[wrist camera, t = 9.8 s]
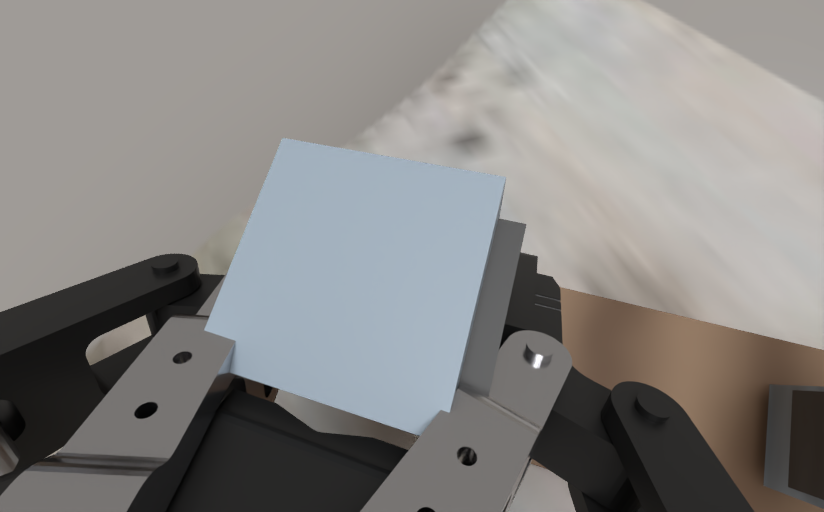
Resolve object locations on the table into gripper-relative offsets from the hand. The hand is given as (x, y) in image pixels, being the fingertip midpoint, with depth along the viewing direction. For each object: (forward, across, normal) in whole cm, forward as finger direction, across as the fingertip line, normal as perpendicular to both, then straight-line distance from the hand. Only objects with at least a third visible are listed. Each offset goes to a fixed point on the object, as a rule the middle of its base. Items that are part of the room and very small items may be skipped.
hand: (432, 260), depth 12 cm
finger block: (+2, 0, +4) cm, 5 cm away
